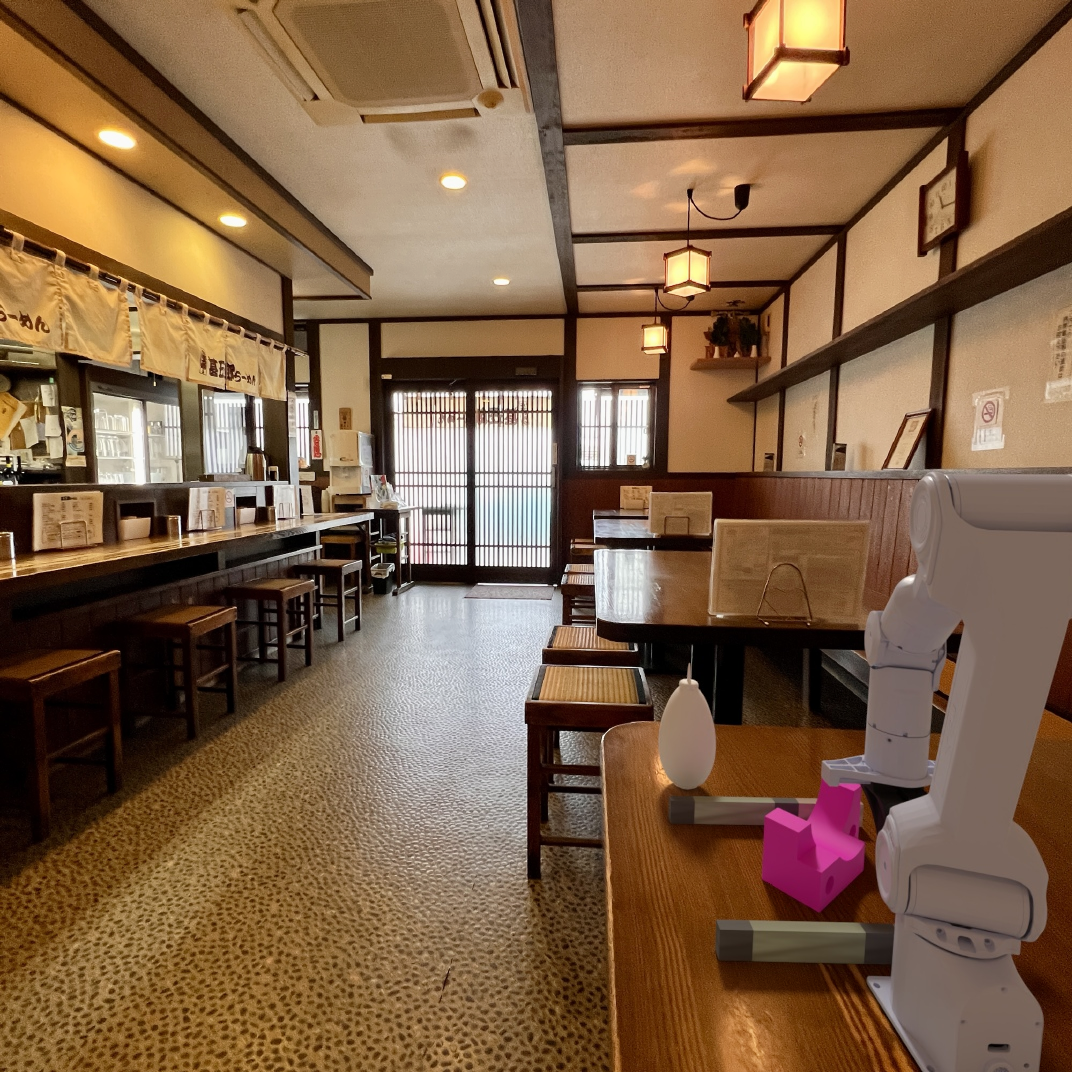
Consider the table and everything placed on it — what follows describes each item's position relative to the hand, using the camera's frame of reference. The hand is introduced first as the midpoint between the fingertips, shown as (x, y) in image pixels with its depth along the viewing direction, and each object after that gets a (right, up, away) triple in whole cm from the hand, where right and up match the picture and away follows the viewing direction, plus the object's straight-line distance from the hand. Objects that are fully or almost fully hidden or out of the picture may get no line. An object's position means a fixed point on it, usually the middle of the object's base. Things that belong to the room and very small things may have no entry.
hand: (889, 847), depth 63 cm
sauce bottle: (-17, -2, +20) cm, 26 cm away
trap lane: (-9, -4, +1) cm, 10 cm away
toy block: (-6, -4, +3) cm, 8 cm away
